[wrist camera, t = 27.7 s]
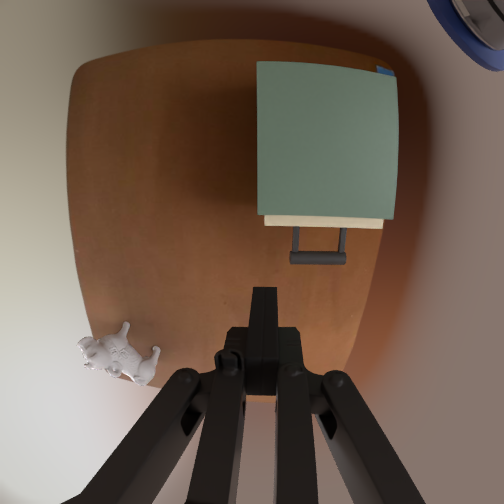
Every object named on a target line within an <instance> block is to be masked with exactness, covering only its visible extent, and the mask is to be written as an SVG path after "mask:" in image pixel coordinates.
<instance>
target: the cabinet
mask: <svg viewBox="0 0 504 504" xmlns="http://www.w3.org/2000/svg"><path fill="white" fill-rule="evenodd" d="M397 164H398V98H397V83H396V77H393V76H388V75H384V74H380V73H375V72H370V71H365V70H359V69H353V68H347V67H340V66H332V65H323V64H313V63H299V62H275V61H257V214H258V215H295V216H330V217H355V218H376V219H393V214H394V205H395V195H396V183H397V167H398V165H397Z"/></svg>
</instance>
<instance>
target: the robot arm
mask: <svg viewBox="0 0 504 504" xmlns="http://www.w3.org/2000/svg"><path fill="white" fill-rule="evenodd" d="M449 2H450V4H451V6H452V8H453V10H454V12H455V14H456V15H457V17H458V18H459V20H460V21H461V22H462V24H463V25H464V26H465V27H466V29H467V30H468V31H469V32H470V33H471V34H472V35H473V36H474V37H475V38H476V39H477V40H478V41H479V42H480V43H481V44H483V45H484V46H485V47H487V48H488V49H490V50H493V51H501V50H504V0H449ZM214 360H215V366H216V369H215V370H213V371H211V372H207V373H200V374H199V373H198V372H197V371H196V370H194V369H192V368H182V369H179V370H177V371H176V372H175V373H173V375H172V376H171V377H170V379H169V380H168V381H167V383H166V384H165V385H164V387H163V388H162V389H161V390H160V392H159V393H158V395H157V396H156V397H155V398H154V400H153V401H152V402H151V404H150V405H149V406H148V408H147V409H146V410H145V411H144V413H143V414H142V415H141V417H140V418H139V419H138V421H137V422H136V423H135V425H134V426H133V427H132V428H131V430H130V431H129V432H128V434H127V435H126V436H125V437H124V439H123V440H122V441H121V443H120V444H119V445H118V446H117V448H116V449H115V450H114V452H113V453H112V455H110V457H109V458H108V459H107V461H106V462H105V463H104V464H103V466H102V467H101V468H100V469H99V471H98V472H97V473H96V475H95V476H94V477H93V478H92V480H91V481H90V482H89V484H88V485H87V486H86V488H85V489H84V490H83V491H82V492H81V494H79V495H77V496H75V497H73V498H71V499H69V500H67V501H65V502H63V503H61V504H152V502H153V501H154V499H155V498H156V496H157V495H158V493H159V491H160V490H161V488H162V487H163V485H164V483H165V482H166V480H167V479H168V477H169V475H170V473H171V472H172V471H173V469H174V467H175V466H176V464H177V462H178V460H179V459H180V457H181V456H182V454H183V452H184V451H185V449H186V447H187V445H188V444H189V442H190V440H191V439H192V437H193V435H194V433H195V432H196V430H197V428H198V427H199V425H200V423H201V421H202V419H203V418H204V416H205V419H204V424H203V428H202V432H201V437H200V441H199V446H198V450H197V455H196V459H195V464H194V468H193V473H192V477H191V482H190V486H189V491H188V495H187V499H186V502H185V504H236V495H237V486H238V476H239V468H240V457H241V448H242V439H243V429H244V420H245V410H246V395H266V396H276V407H275V412H276V422H275V423H276V425H275V426H276V427H275V469H274V499H273V504H318V489H317V473H316V462H315V461H316V460H315V448H314V436H313V425H312V416H311V413H312V414H315V417H316V419H317V421H318V424H319V426H320V428H321V430H322V433H323V435H324V437H325V440H326V442H327V444H328V446H329V449H330V451H331V453H332V455H333V458H334V460H335V462H336V465H337V467H338V469H339V471H340V474H341V476H342V478H343V480H344V483H345V485H346V487H347V489H348V492H349V494H350V496H351V498H352V500H353V503H354V504H426V503H425V502H424V500H423V498H422V497H421V495H420V493H419V491H418V490H417V488H416V486H415V484H414V483H413V481H412V479H411V477H410V476H409V474H408V472H407V471H406V469H405V467H404V466H403V464H402V463H401V461H400V459H399V457H398V455H397V454H396V452H395V451H394V449H393V447H392V445H391V444H390V442H389V441H388V439H387V437H386V435H385V434H384V432H383V431H382V429H381V427H380V426H379V424H378V423H377V421H376V419H375V417H374V416H373V414H372V413H371V411H370V410H369V408H368V406H367V405H366V403H365V401H364V400H363V398H362V396H361V395H360V393H359V391H358V390H357V388H356V386H355V385H354V383H353V382H352V380H351V378H350V377H349V376H348V375H347V374H346V373H344V372H342V371H338V370H333V371H329V372H327V373H326V374H325V375H324V376H323V375H318V374H314V373H312V372H310V371H308V370H307V369H306V368H305V366H304V363H303V355H302V347H301V340H300V332H299V331H298V330H297V329H296V327H278V306H277V287H253V294H252V302H251V310H250V318H249V326H248V327H232V328H231V329H230V330H229V331H228V332H227V336H226V340H225V345H224V349H223V350H220V351H218V352H217V353H216V354H215V356H214ZM205 414H206V415H205Z"/></svg>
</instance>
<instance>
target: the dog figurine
mask: <svg viewBox="0 0 504 504" xmlns="http://www.w3.org/2000/svg"><path fill="white" fill-rule="evenodd" d="M129 327H130V324H129V323H128V322H126V321H125V322H123V327H122V329H121V330H120V331H119V332H118V333H116V334H108V335H105V336H103V337H102V338H99V339H98V341H97V340H96V339H94V338H92V337H85V338H83V339H82V340H80V341H79V342H78V343H77V346H78V347H79V348H80V349H81V350H82V351H83V356H84V357H85V359H86V360H87V362H88V364H85V365H84V367H85V368H86V369H96V370H100V369H106V370H107V371H108V373H109V375H110V376H112V377H114V378H117V377H119V376H120V375H121V372H122V373H124V374H126V375H128V376H130V378H131V379H132V380H133V381H134V382H135V383H136V384H138V385H140V386H144V385H147V383H148V382H149V381H150V380H151V379H152V378H153V377H154V375H155V365H156V364H157V359H158V357H159V354H160V348H159V347H157V346H154V347H153V354H152V355H151V356H150V357H141V356H140V354H139V353H138V352H137V351H136V350H135V349H134V348H133V347H132V346H131V345H130V344H129V343H128V340H127V338H126V335H127V332H128V329H129ZM113 370H114V371H113Z"/></svg>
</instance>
